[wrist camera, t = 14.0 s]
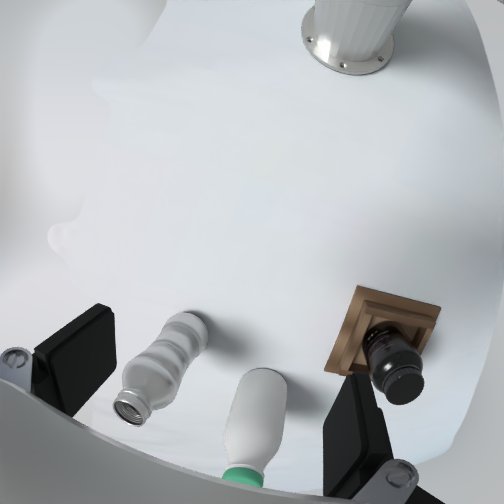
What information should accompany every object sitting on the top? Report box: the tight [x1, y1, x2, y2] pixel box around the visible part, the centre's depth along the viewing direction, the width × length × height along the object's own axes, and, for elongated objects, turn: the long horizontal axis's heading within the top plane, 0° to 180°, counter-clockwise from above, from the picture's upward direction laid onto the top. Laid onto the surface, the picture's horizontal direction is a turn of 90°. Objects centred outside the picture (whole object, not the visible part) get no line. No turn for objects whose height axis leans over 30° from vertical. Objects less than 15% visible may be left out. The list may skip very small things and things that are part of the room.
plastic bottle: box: [113, 312, 208, 427], centre depth 34 cm, size 6×7×20 cm
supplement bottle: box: [362, 321, 424, 405], centre depth 33 cm, size 7×7×12 cm
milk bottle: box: [222, 369, 287, 487], centre depth 35 cm, size 8×8×20 cm
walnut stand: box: [324, 285, 441, 381], centre depth 38 cm, size 14×14×3 cm
